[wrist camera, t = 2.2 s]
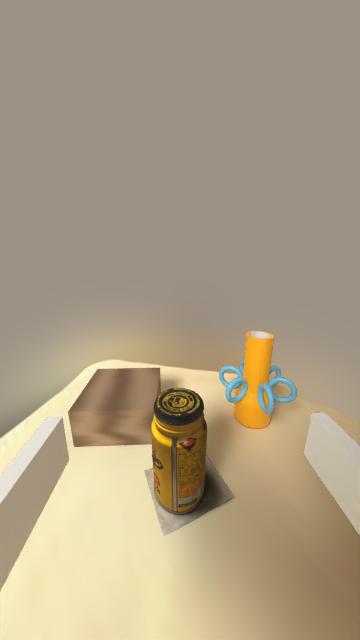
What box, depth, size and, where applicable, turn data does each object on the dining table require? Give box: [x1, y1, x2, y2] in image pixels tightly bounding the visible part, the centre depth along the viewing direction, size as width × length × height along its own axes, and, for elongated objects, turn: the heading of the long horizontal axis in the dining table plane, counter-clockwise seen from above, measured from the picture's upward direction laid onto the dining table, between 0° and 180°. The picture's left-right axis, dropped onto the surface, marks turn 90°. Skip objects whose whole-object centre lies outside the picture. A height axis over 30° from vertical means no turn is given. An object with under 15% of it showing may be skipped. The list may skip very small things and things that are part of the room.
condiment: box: [145, 388, 234, 535], centre depth 24 cm, size 7×8×12 cm
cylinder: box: [219, 331, 297, 429], centre depth 34 cm, size 12×10×15 cm
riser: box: [68, 368, 161, 447], centre depth 36 cm, size 12×12×6 cm
